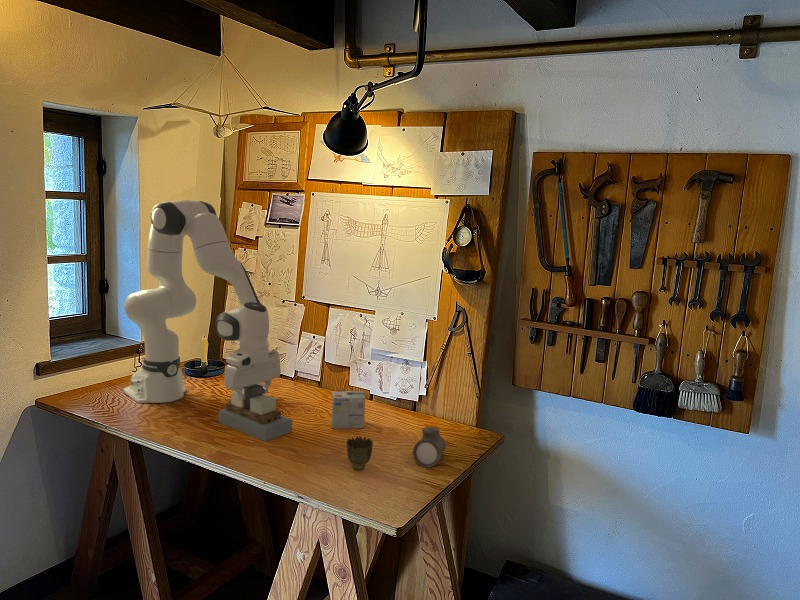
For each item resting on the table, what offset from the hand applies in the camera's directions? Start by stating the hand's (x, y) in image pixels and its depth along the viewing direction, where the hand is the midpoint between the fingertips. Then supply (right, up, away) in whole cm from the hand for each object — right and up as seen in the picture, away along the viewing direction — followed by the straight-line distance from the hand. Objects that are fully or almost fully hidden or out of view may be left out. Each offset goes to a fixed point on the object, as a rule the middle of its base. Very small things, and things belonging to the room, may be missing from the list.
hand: (253, 396), depth 198 cm
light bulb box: (+29, -11, +8) cm, 32 cm away
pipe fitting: (+56, -17, -15) cm, 60 cm away
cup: (+35, -17, -23) cm, 45 cm away
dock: (0, -10, +1) cm, 10 cm away
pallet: (0, -6, +1) cm, 6 cm away
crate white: (-4, -3, +3) cm, 6 cm away
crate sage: (+3, -4, -2) cm, 6 cm away
